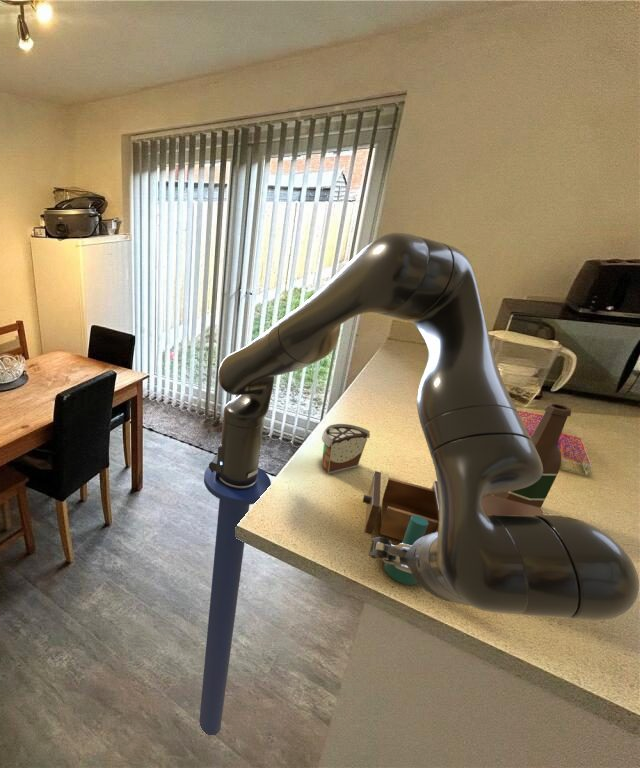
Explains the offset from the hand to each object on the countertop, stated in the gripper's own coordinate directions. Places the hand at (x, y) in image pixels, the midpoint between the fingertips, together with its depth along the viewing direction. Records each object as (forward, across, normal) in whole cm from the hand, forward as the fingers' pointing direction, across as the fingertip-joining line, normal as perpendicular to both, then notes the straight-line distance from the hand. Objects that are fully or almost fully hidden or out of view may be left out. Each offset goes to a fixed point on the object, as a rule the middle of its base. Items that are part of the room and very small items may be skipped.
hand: (422, 568), depth 57 cm
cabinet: (+24, -12, -8) cm, 28 cm away
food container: (+37, +14, -21) cm, 45 cm away
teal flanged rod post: (+15, 0, +1) cm, 15 cm away
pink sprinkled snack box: (+64, -33, -48) cm, 87 cm away
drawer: (+24, -1, -9) cm, 25 cm away
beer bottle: (+38, -21, -22) cm, 49 cm away
